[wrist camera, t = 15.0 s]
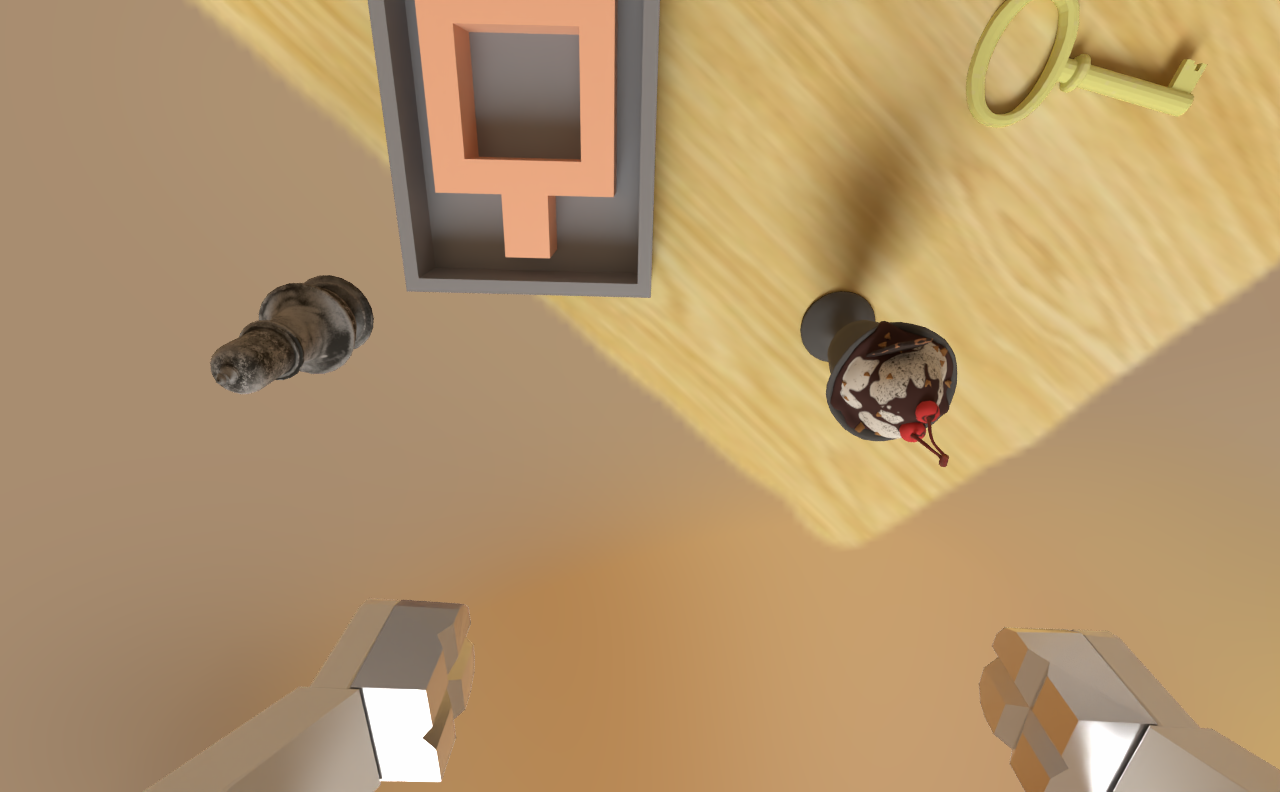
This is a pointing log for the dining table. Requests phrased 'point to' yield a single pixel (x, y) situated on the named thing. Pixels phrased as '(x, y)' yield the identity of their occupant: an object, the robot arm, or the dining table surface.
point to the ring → (527, 185)
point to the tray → (522, 128)
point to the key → (1071, 72)
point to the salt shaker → (296, 335)
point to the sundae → (880, 370)
